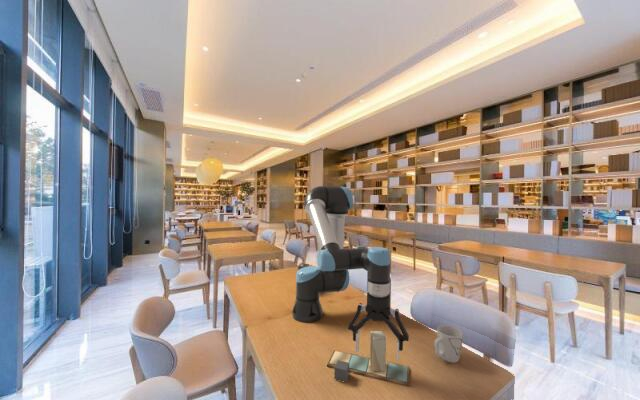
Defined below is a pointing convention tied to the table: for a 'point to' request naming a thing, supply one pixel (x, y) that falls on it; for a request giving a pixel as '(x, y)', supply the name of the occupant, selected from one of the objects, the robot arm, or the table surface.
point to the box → (377, 350)
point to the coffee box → (302, 266)
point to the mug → (448, 343)
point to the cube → (341, 371)
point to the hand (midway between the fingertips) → (377, 354)
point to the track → (363, 366)
